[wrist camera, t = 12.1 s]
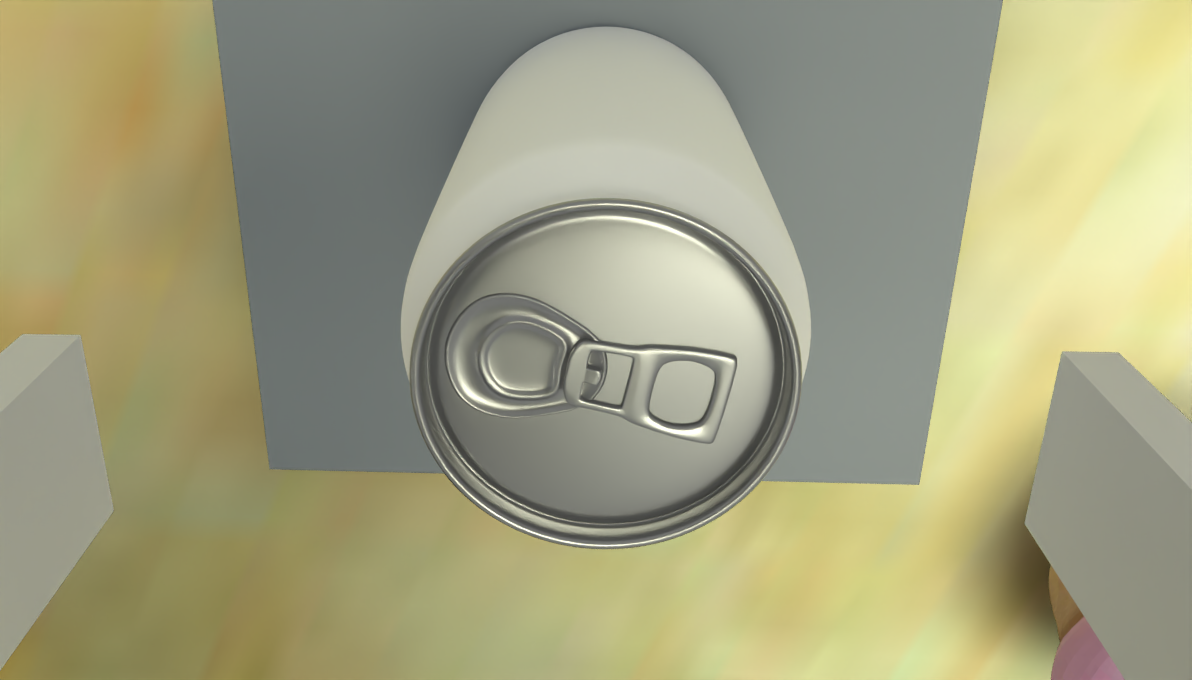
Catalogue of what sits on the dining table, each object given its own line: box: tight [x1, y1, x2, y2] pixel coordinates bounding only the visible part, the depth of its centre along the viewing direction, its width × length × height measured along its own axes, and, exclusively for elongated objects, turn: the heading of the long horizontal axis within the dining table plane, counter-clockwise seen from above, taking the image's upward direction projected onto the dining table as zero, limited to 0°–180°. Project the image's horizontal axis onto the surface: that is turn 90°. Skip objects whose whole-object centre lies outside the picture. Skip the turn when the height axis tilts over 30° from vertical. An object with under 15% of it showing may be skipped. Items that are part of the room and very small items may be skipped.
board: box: [213, 0, 1003, 485], centre depth 27 cm, size 18×18×1 cm
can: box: [401, 27, 811, 549], centre depth 21 cm, size 6×6×12 cm
